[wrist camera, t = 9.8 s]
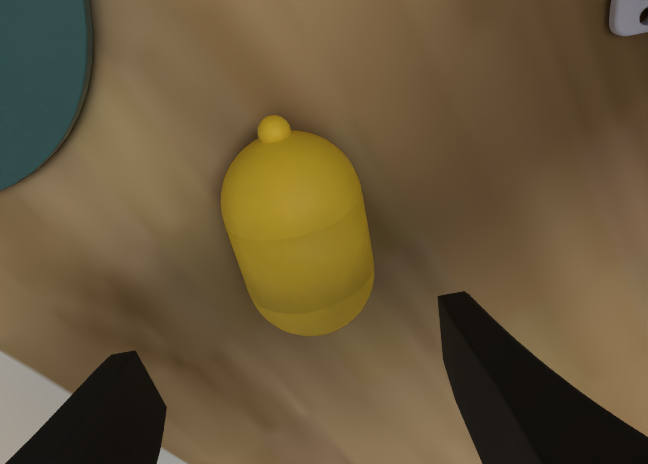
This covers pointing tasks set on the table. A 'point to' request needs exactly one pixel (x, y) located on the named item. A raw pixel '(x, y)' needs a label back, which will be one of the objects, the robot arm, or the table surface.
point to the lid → (40, 79)
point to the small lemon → (298, 229)
